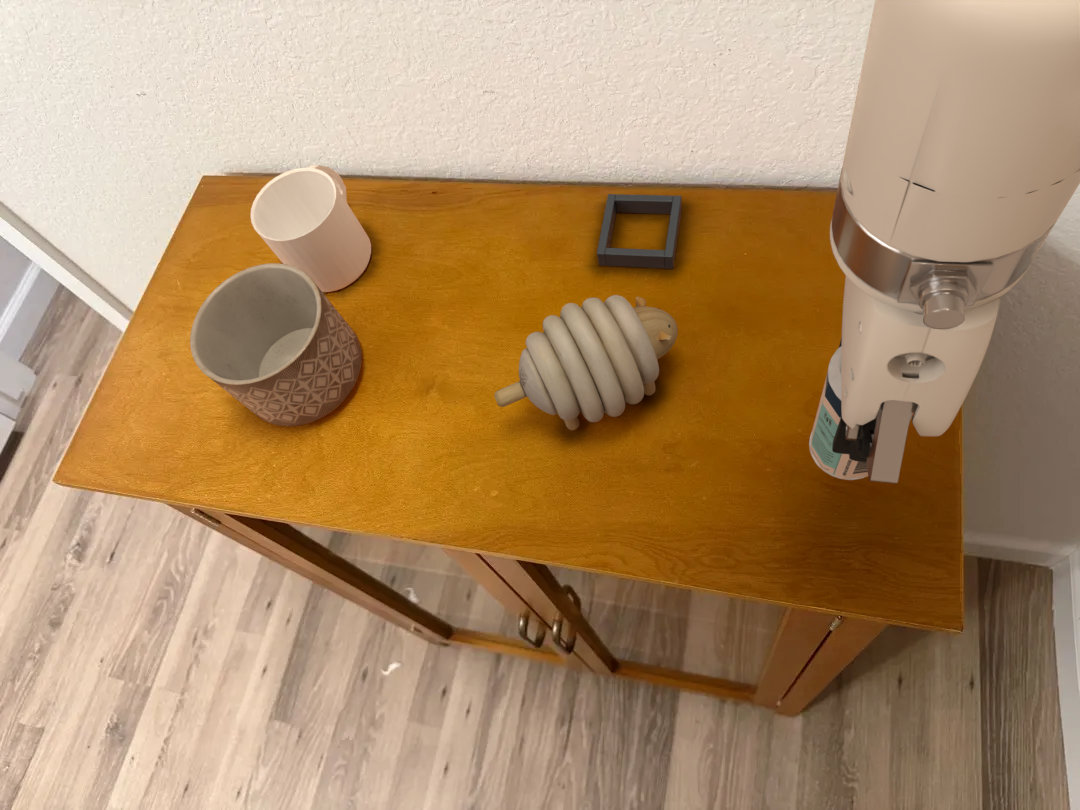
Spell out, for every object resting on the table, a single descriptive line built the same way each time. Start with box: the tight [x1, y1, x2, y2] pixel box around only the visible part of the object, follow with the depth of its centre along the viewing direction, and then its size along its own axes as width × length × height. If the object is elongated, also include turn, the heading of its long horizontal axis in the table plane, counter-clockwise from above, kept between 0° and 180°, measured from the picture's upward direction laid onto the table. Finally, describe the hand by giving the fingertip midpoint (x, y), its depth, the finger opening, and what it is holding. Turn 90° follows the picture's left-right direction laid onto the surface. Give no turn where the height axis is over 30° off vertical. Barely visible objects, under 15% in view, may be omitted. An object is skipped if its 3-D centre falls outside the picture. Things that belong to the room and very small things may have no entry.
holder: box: [596, 193, 683, 270], centre depth 77 cm, size 7×7×2 cm
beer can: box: [808, 346, 868, 481], centre depth 46 cm, size 5×5×12 cm
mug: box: [249, 164, 372, 293], centre depth 81 cm, size 12×9×9 cm
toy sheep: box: [494, 294, 679, 431], centre depth 66 cm, size 11×17×11 cm, turn 116°
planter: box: [189, 262, 363, 427], centre depth 74 cm, size 13×13×10 cm
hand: (862, 406), depth 46 cm, fingers closed on beer can, 4 cm apart
